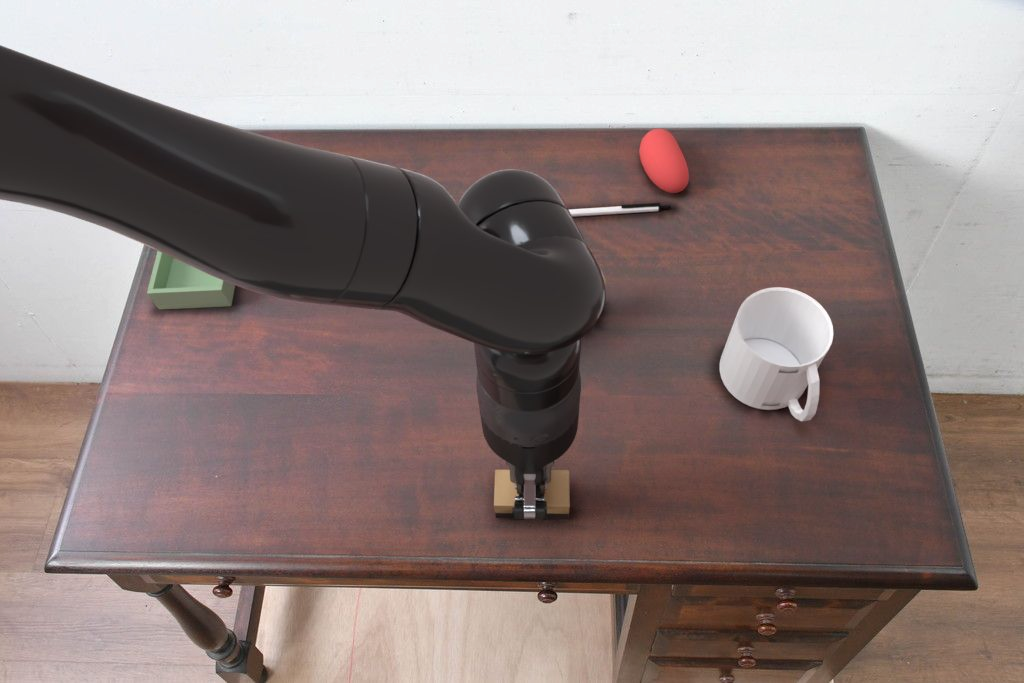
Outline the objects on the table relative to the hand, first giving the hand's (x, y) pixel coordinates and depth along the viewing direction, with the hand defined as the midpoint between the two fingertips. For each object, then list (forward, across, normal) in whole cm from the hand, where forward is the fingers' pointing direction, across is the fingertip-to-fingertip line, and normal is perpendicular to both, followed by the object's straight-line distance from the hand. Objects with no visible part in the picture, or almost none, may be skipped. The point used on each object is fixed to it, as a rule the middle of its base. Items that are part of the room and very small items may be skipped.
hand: (531, 483), depth 73 cm
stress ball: (+5, -43, +16) cm, 46 cm away
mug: (+5, -13, +24) cm, 28 cm away
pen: (+5, -37, +7) cm, 38 cm away
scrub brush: (+5, 0, 0) cm, 5 cm away
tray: (+5, -30, -39) cm, 50 cm away
